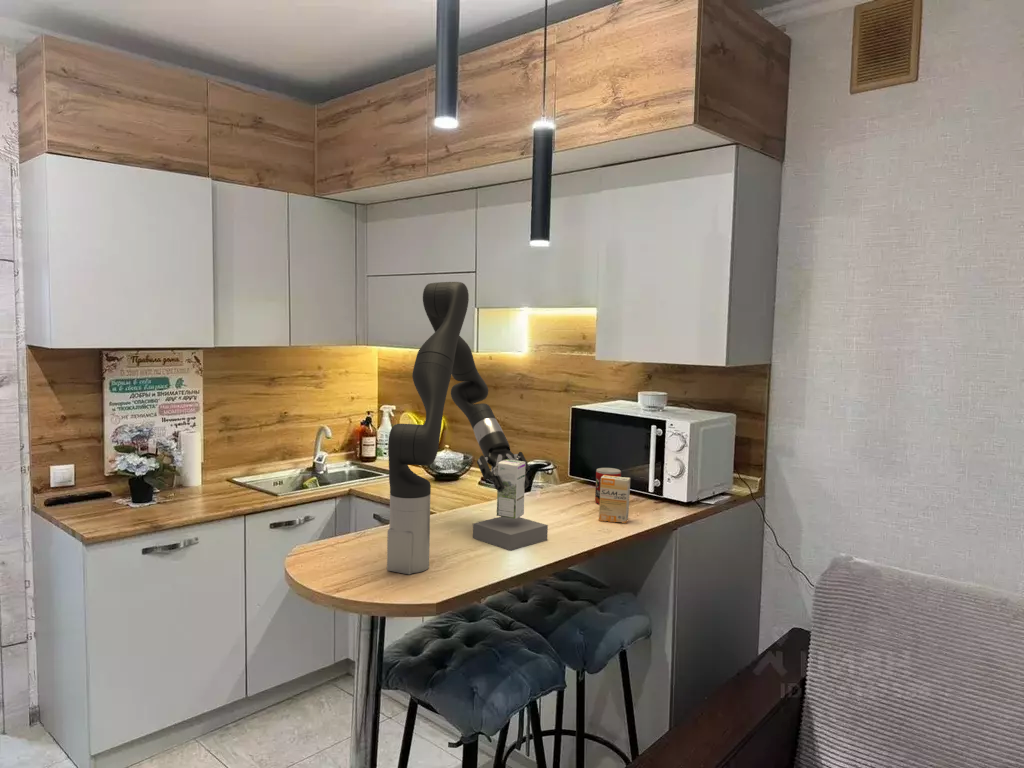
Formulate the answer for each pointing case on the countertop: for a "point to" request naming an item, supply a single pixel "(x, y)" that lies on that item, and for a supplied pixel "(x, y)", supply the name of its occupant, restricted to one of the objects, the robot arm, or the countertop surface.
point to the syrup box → (511, 489)
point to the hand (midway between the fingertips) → (514, 488)
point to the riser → (510, 532)
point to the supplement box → (614, 499)
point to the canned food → (599, 474)
